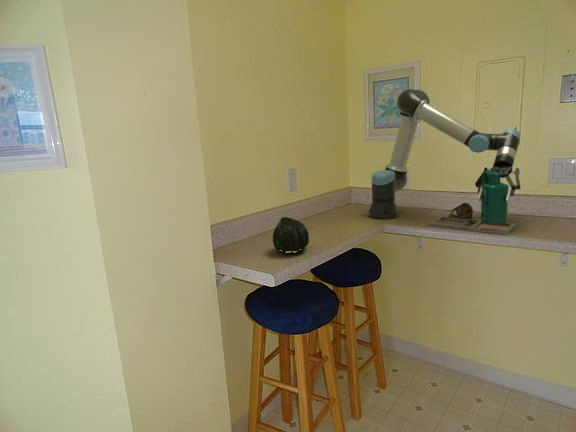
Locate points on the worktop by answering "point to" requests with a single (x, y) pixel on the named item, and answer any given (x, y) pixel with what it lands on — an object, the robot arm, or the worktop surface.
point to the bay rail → (477, 227)
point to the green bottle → (494, 199)
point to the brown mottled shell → (462, 211)
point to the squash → (290, 235)
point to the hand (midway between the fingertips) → (492, 200)
